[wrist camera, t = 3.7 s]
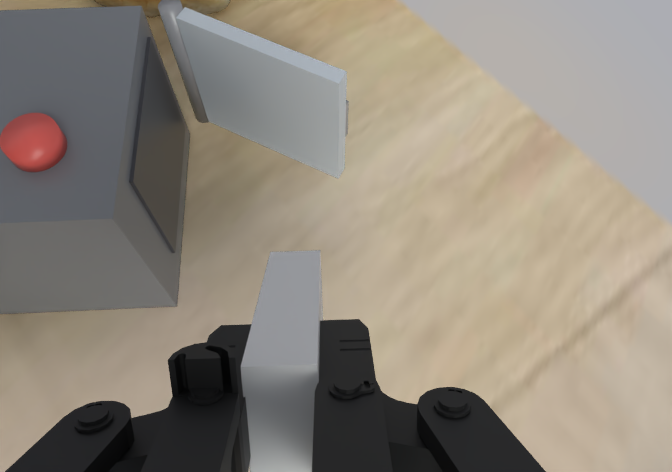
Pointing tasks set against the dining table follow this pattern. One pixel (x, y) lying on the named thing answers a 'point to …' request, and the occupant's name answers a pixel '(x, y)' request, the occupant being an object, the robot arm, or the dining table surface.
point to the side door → (260, 88)
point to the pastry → (204, 3)
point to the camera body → (88, 163)
